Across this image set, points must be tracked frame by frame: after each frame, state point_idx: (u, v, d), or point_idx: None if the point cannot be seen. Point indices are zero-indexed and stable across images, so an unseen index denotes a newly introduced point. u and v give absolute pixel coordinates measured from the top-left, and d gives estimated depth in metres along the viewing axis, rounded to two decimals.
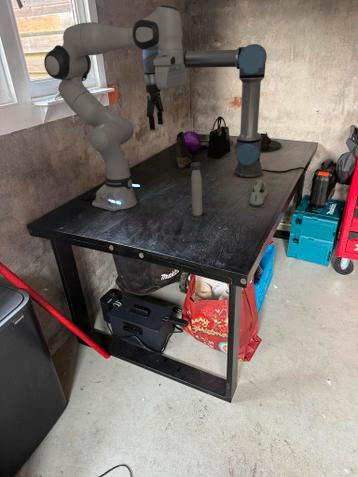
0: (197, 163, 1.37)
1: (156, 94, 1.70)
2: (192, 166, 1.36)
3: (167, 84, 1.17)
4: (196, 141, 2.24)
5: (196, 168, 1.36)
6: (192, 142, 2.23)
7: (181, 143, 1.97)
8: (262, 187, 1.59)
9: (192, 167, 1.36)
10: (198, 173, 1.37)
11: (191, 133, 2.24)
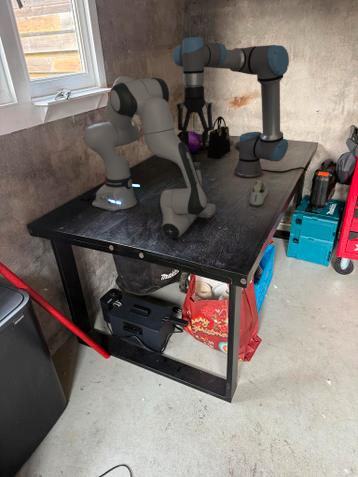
0: (197, 163, 1.37)
1: (197, 99, 1.23)
2: None
3: None
4: (196, 141, 2.24)
5: (196, 168, 1.36)
6: (192, 142, 2.23)
7: None
8: (262, 187, 1.59)
9: None
10: (198, 173, 1.37)
11: (191, 133, 2.24)
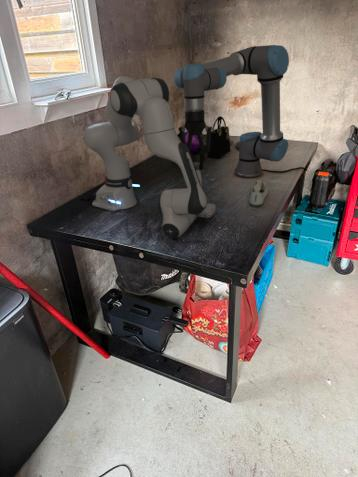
0: (197, 163, 1.37)
1: (198, 121, 1.27)
2: None
3: None
4: (196, 141, 2.24)
5: (196, 168, 1.36)
6: (192, 142, 2.23)
7: None
8: (262, 187, 1.59)
9: None
10: (198, 173, 1.37)
11: None
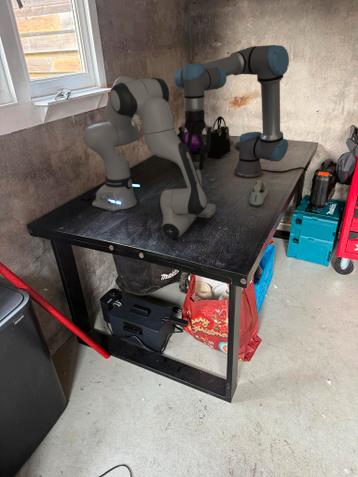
0: (196, 162, 1.37)
1: (198, 121, 1.27)
2: (199, 166, 1.36)
3: None
4: (196, 141, 2.24)
5: None
6: (192, 142, 2.23)
7: None
8: (262, 187, 1.59)
9: (199, 167, 1.36)
10: (198, 173, 1.37)
11: None
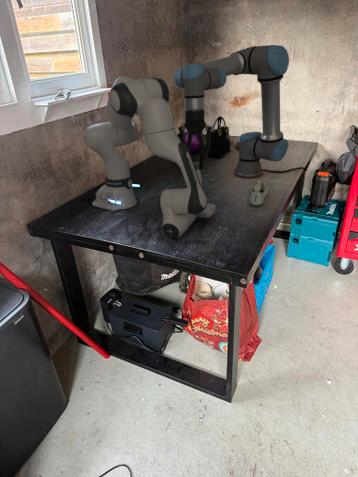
0: (194, 163, 1.37)
1: (198, 121, 1.27)
2: None
3: None
4: (196, 141, 2.24)
5: None
6: (192, 142, 2.23)
7: None
8: (262, 187, 1.59)
9: None
10: (198, 173, 1.37)
11: None
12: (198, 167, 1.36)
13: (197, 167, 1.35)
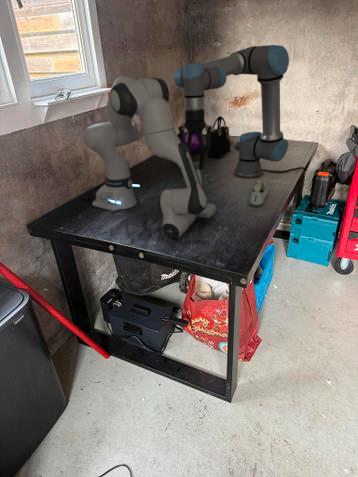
0: (195, 163, 1.36)
1: (198, 121, 1.27)
2: None
3: None
4: (196, 141, 2.24)
5: None
6: (192, 142, 2.23)
7: None
8: (262, 187, 1.59)
9: None
10: (198, 173, 1.37)
11: None
12: None
13: None
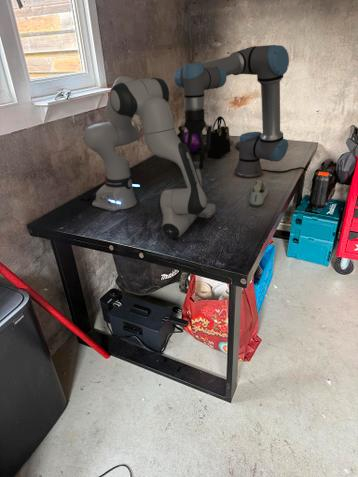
0: (197, 162, 1.36)
1: (198, 121, 1.27)
2: None
3: None
4: (196, 141, 2.24)
5: (196, 167, 1.35)
6: (192, 142, 2.23)
7: None
8: (262, 187, 1.59)
9: None
10: (198, 173, 1.37)
11: None
12: None
13: None
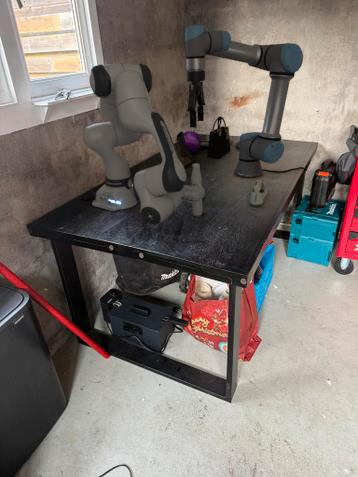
0: None
1: (199, 83, 1.38)
2: None
3: None
4: (196, 141, 2.24)
5: None
6: (192, 142, 2.23)
7: (181, 143, 1.97)
8: (262, 187, 1.59)
9: None
10: (198, 173, 1.37)
11: (191, 133, 2.24)
12: None
13: None
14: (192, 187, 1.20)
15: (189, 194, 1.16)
